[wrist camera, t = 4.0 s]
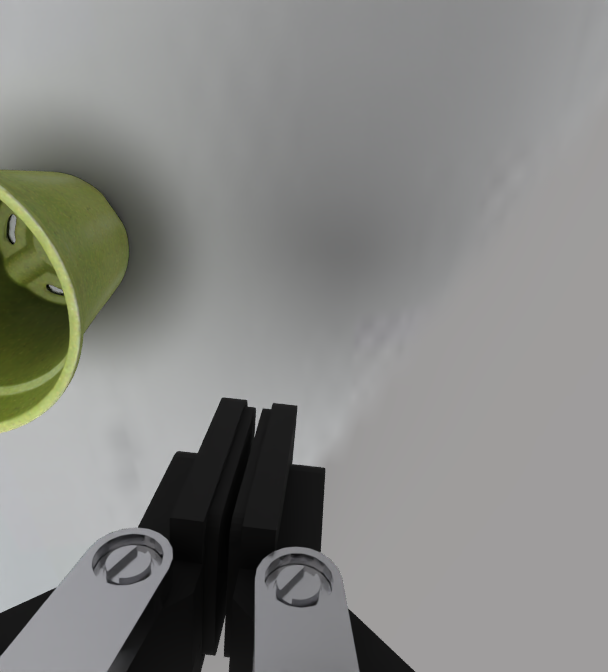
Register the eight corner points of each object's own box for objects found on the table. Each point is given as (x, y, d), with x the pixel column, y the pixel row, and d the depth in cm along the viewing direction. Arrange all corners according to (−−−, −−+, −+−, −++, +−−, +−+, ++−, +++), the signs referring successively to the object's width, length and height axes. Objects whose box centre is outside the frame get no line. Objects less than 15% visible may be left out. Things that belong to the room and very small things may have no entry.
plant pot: (-35, 314, 27) (-197, 404, 19) (-45, 107, 23) (-252, 111, 15) (155, 354, 27) (73, 461, 19) (175, 156, 23) (85, 185, 15)
